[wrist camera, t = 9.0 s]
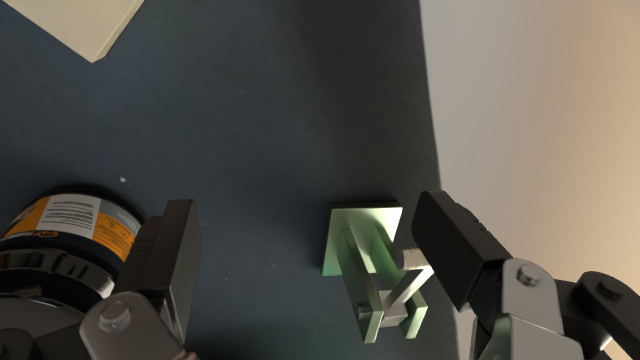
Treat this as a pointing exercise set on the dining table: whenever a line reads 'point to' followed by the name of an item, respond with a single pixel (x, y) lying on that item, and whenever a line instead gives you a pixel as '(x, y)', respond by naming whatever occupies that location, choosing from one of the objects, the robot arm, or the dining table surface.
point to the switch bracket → (368, 261)
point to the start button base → (81, 21)
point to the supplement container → (63, 257)
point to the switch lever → (404, 285)
